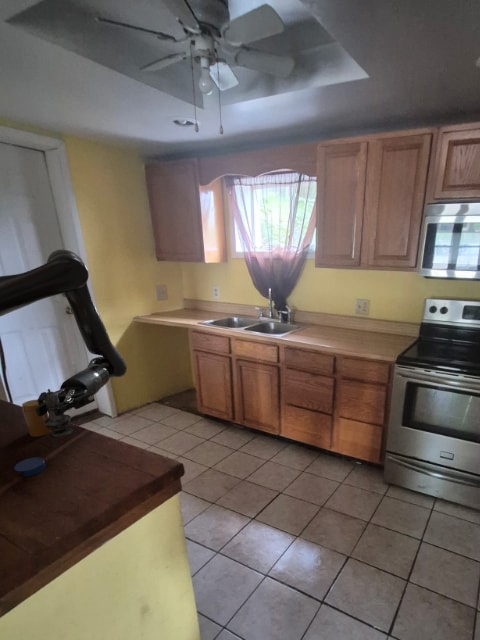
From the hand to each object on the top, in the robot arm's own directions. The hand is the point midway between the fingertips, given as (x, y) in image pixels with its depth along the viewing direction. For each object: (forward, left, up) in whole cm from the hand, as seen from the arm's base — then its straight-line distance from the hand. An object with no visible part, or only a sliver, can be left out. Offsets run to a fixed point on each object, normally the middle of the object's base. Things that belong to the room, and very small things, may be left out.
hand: (47, 412), depth 89 cm
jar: (-13, +10, -13) cm, 21 cm away
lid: (-3, -6, -12) cm, 13 cm away
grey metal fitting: (0, +3, -7) cm, 8 cm away
